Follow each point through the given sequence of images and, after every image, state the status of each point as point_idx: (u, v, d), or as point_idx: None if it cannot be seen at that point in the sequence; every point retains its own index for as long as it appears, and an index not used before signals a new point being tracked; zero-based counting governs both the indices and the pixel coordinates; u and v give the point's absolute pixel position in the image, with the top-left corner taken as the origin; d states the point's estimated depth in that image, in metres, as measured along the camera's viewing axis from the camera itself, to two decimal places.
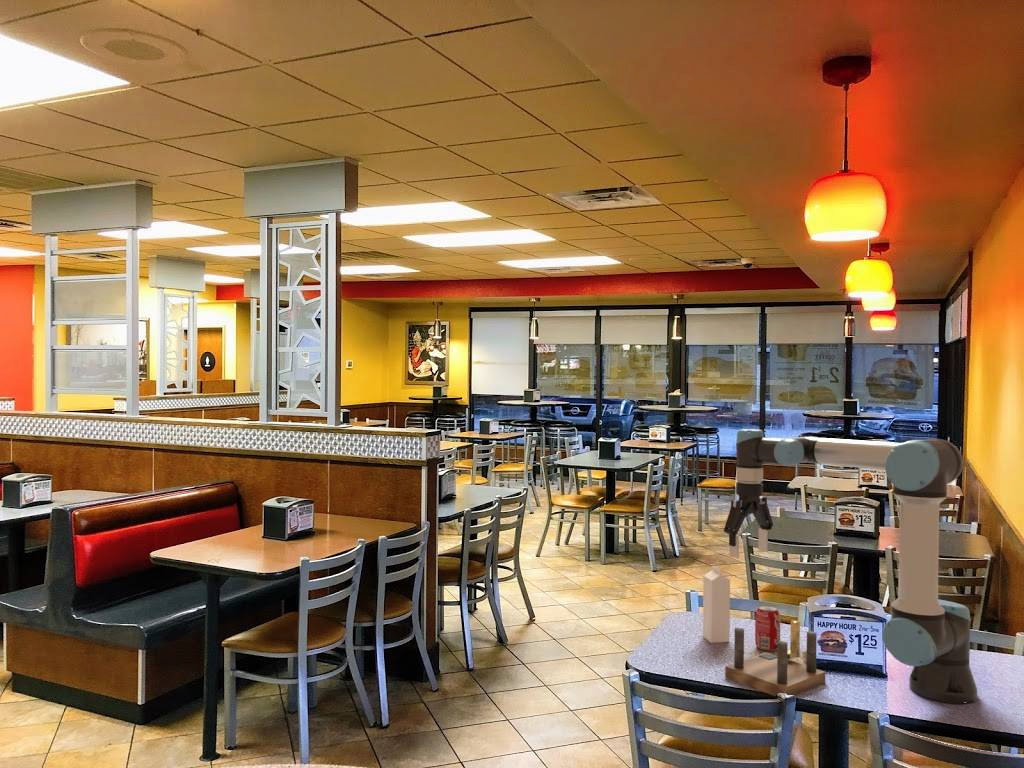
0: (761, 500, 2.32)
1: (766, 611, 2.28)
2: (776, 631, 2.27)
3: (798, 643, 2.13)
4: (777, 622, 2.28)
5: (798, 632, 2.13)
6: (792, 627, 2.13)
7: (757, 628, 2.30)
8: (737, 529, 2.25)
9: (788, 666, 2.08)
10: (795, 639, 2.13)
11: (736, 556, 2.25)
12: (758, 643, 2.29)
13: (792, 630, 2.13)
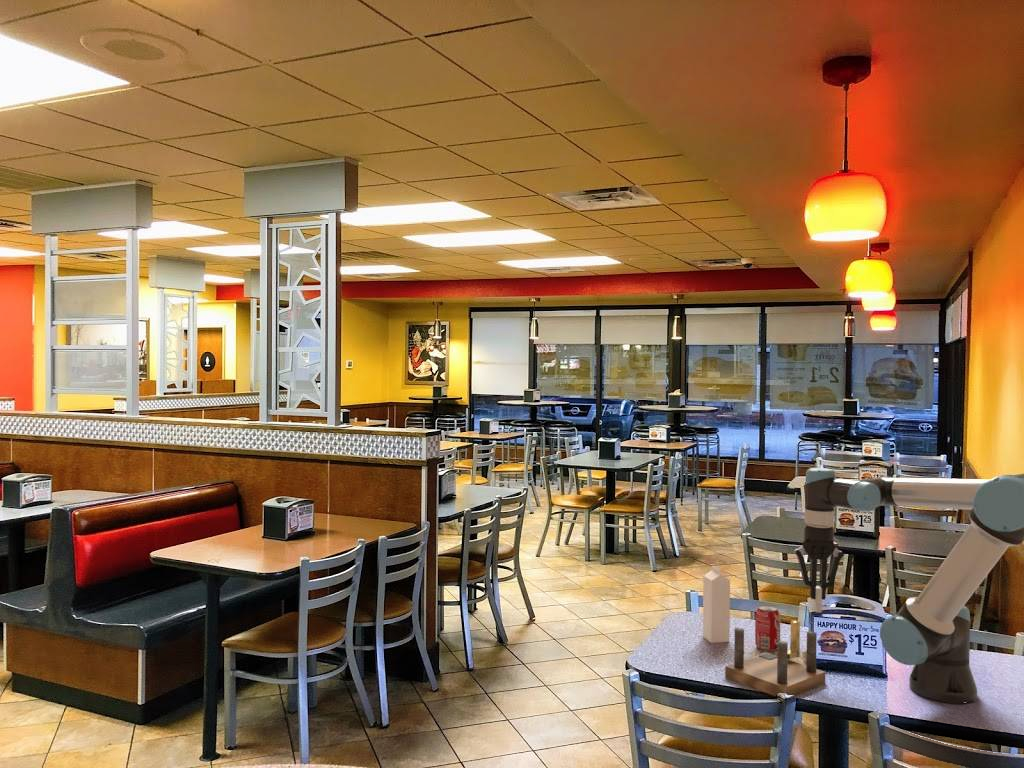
0: (836, 552, 2.13)
1: (766, 611, 2.28)
2: (776, 631, 2.27)
3: (798, 643, 2.13)
4: (777, 622, 2.28)
5: (798, 632, 2.13)
6: (792, 627, 2.13)
7: (757, 628, 2.30)
8: (813, 581, 2.13)
9: (788, 666, 2.08)
10: (795, 639, 2.13)
11: (815, 610, 2.13)
12: (758, 643, 2.29)
13: (792, 630, 2.13)
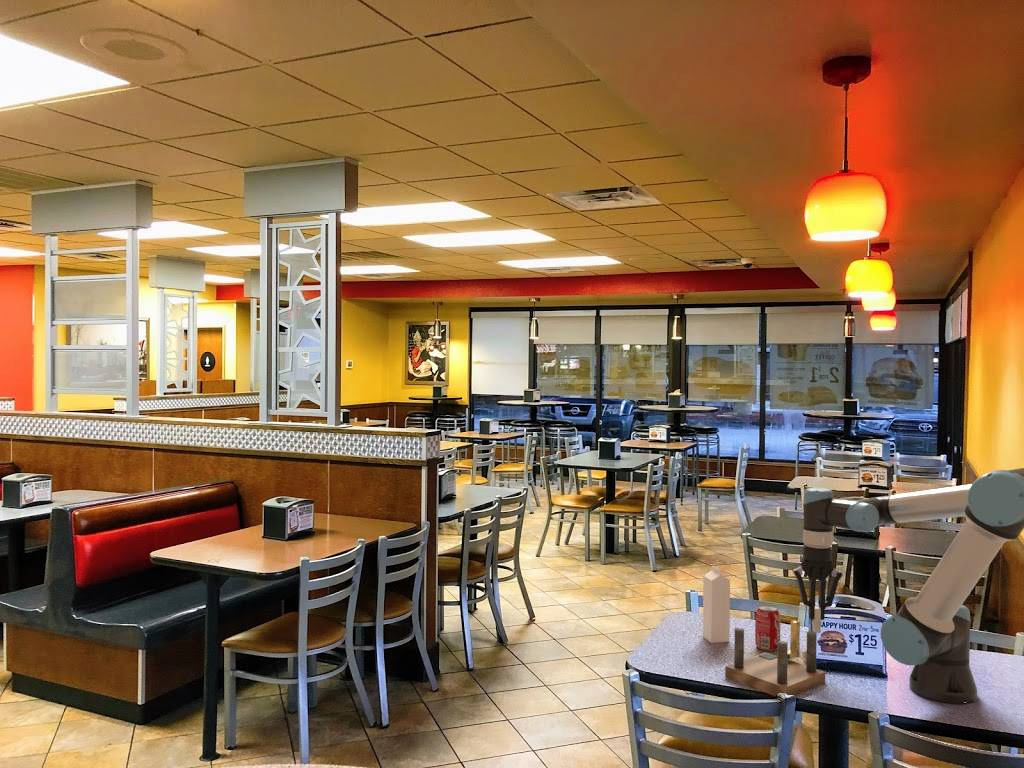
0: (835, 572, 2.13)
1: (766, 611, 2.28)
2: (776, 631, 2.27)
3: (798, 643, 2.13)
4: (777, 622, 2.28)
5: (798, 632, 2.13)
6: (792, 627, 2.13)
7: (757, 628, 2.30)
8: (812, 601, 2.13)
9: (788, 666, 2.08)
10: (795, 639, 2.13)
11: (814, 630, 2.13)
12: (758, 643, 2.29)
13: (792, 630, 2.13)
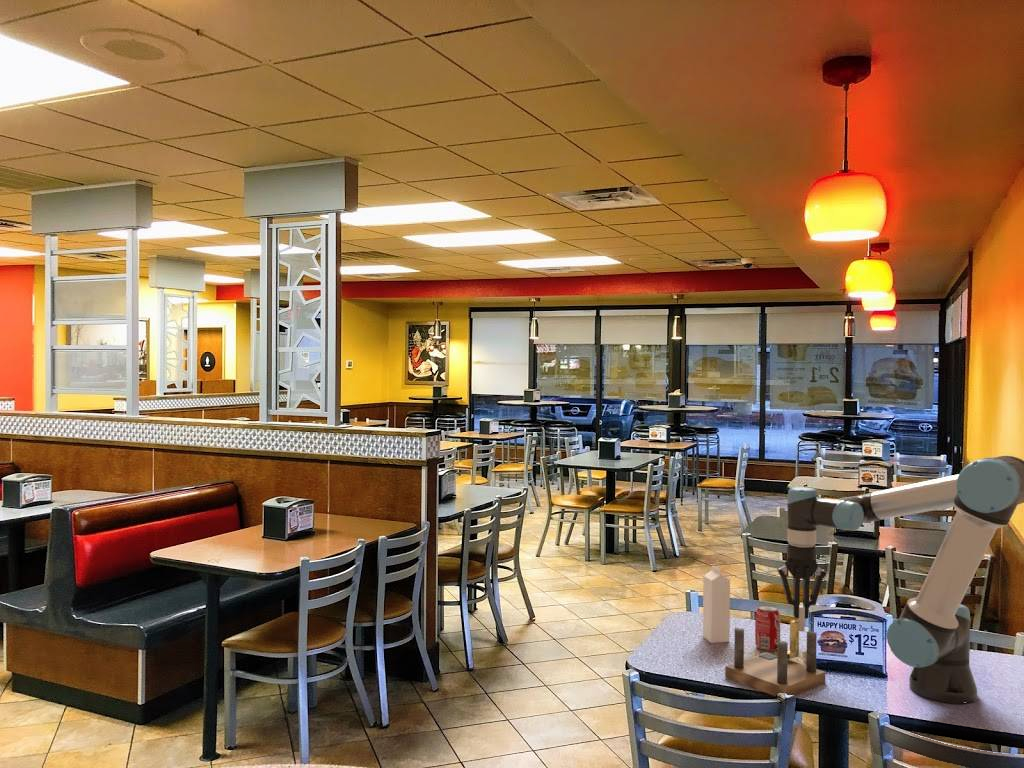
0: (819, 571, 2.13)
1: (766, 611, 2.28)
2: (776, 631, 2.27)
3: (797, 643, 2.13)
4: (777, 622, 2.28)
5: (797, 632, 2.13)
6: (791, 627, 2.13)
7: (757, 628, 2.30)
8: (797, 600, 2.14)
9: (788, 666, 2.08)
10: (795, 639, 2.13)
11: (799, 629, 2.14)
12: (758, 643, 2.29)
13: (791, 630, 2.13)
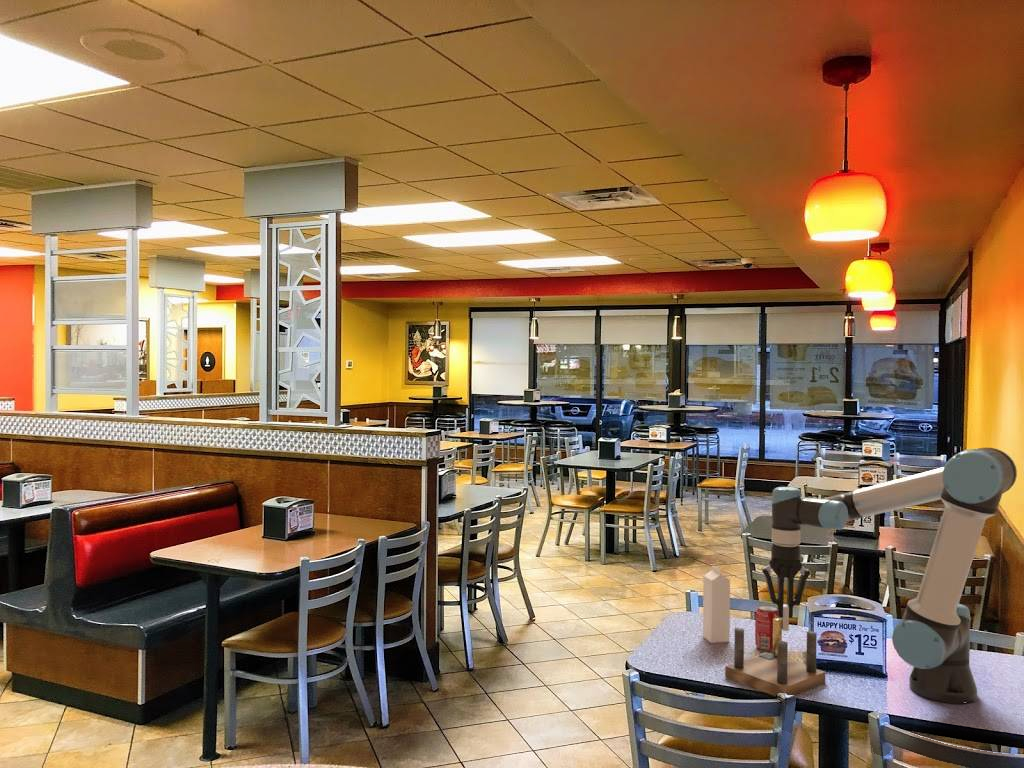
0: (803, 571, 2.14)
1: (766, 611, 2.28)
2: None
3: None
4: None
5: (781, 629, 2.16)
6: (778, 625, 2.15)
7: (757, 628, 2.30)
8: (781, 599, 2.14)
9: (788, 666, 2.08)
10: (781, 636, 2.15)
11: (783, 628, 2.14)
12: (758, 643, 2.29)
13: (778, 628, 2.15)
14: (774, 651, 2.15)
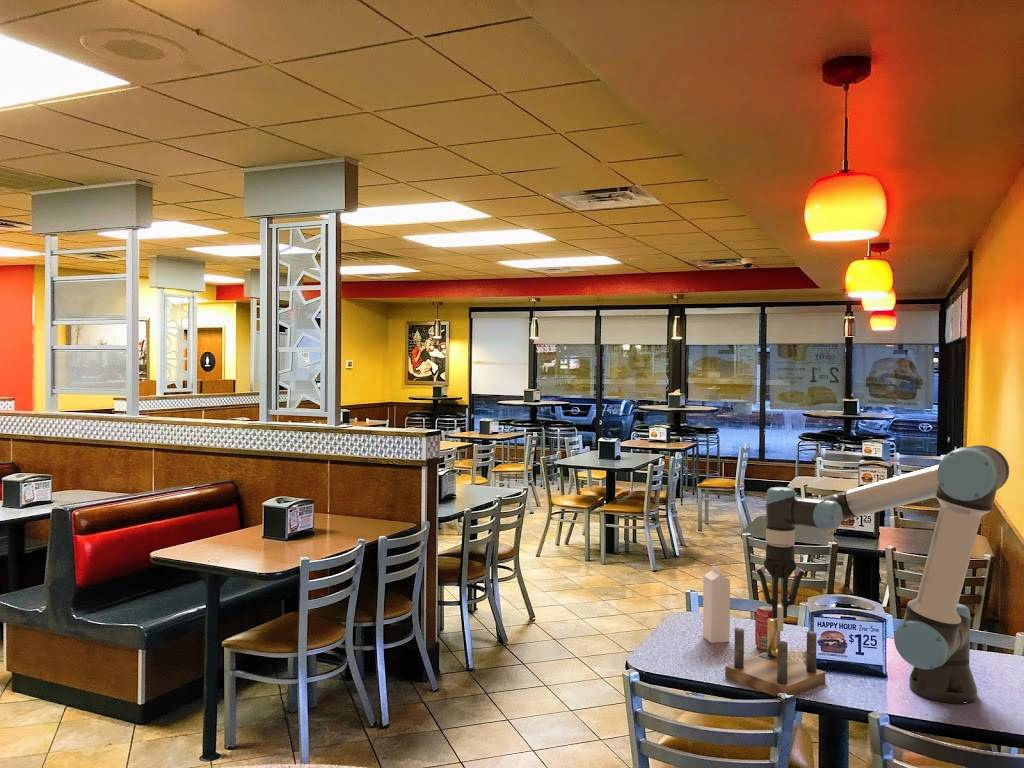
0: (797, 571, 2.14)
1: (766, 611, 2.28)
2: None
3: None
4: None
5: None
6: (774, 626, 2.14)
7: (757, 628, 2.30)
8: (775, 600, 2.14)
9: (788, 666, 2.08)
10: (776, 636, 2.15)
11: (777, 629, 2.14)
12: (758, 643, 2.29)
13: (774, 629, 2.14)
14: (770, 652, 2.15)
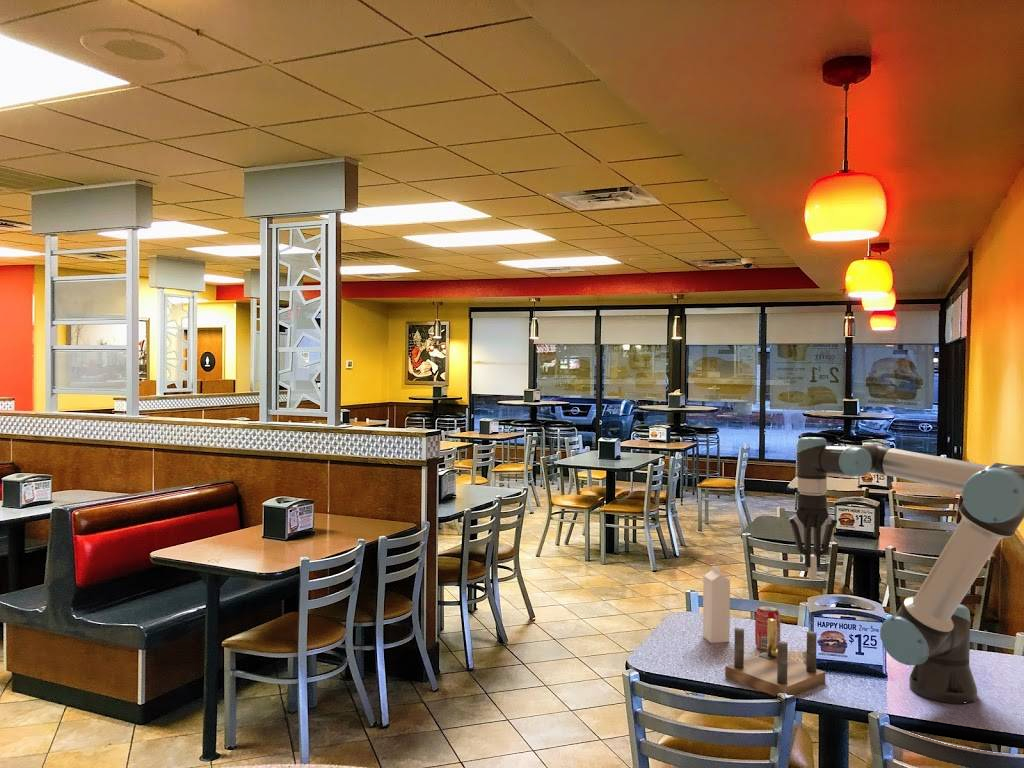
0: (830, 520, 2.14)
1: (766, 611, 2.28)
2: None
3: None
4: (777, 622, 2.28)
5: None
6: (774, 626, 2.14)
7: (757, 628, 2.30)
8: (808, 549, 2.14)
9: (788, 666, 2.08)
10: (776, 636, 2.15)
11: (810, 578, 2.14)
12: (758, 643, 2.29)
13: (774, 629, 2.14)
14: (770, 652, 2.15)
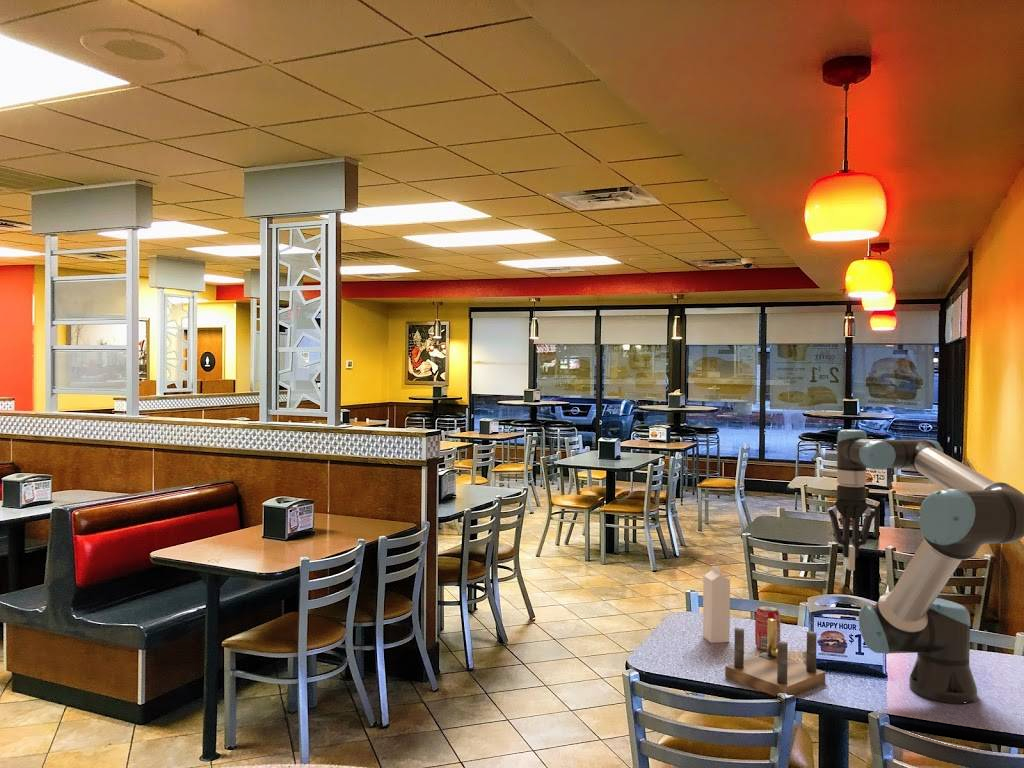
0: (869, 511, 2.18)
1: (766, 611, 2.28)
2: None
3: None
4: (777, 622, 2.28)
5: None
6: (774, 626, 2.14)
7: (757, 628, 2.30)
8: (846, 539, 2.18)
9: (788, 666, 2.08)
10: (776, 636, 2.15)
11: (848, 568, 2.18)
12: (758, 643, 2.29)
13: (774, 629, 2.14)
14: (770, 652, 2.15)
